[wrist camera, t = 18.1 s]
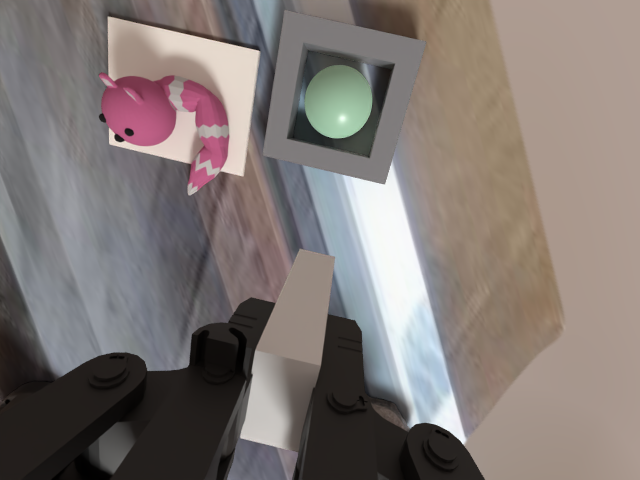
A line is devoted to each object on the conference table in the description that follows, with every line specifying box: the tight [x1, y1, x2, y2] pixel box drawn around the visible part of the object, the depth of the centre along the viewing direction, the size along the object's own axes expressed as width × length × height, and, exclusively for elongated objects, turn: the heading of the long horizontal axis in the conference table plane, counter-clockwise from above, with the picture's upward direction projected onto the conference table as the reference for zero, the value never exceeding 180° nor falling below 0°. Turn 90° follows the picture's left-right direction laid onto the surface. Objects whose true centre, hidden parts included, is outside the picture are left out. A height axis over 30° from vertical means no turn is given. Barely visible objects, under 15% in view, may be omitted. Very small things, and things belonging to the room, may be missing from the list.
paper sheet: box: [108, 17, 260, 176], centre depth 32 cm, size 15×12×1 cm
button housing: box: [263, 10, 426, 184], centre depth 30 cm, size 12×12×3 cm
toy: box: [99, 72, 230, 195], centre depth 31 cm, size 11×9×10 cm
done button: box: [305, 65, 372, 138], centre depth 30 cm, size 6×6×3 cm
